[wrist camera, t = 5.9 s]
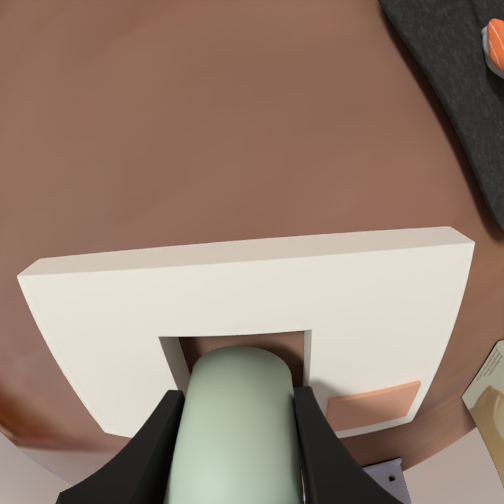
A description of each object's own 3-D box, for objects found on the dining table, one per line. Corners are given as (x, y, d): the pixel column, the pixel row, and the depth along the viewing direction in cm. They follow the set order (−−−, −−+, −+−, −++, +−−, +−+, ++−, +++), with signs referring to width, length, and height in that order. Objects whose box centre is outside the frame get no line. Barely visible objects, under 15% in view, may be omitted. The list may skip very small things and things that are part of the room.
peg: (293, 343, 11) (314, 512, 5) (289, 407, 13) (299, 534, 6) (183, 344, 11) (140, 502, 5) (200, 407, 13) (180, 530, 7)
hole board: (449, 226, 11) (479, 244, 9) (402, 399, 15) (412, 425, 13) (39, 258, 12) (13, 278, 10) (113, 411, 16) (103, 435, 14)
